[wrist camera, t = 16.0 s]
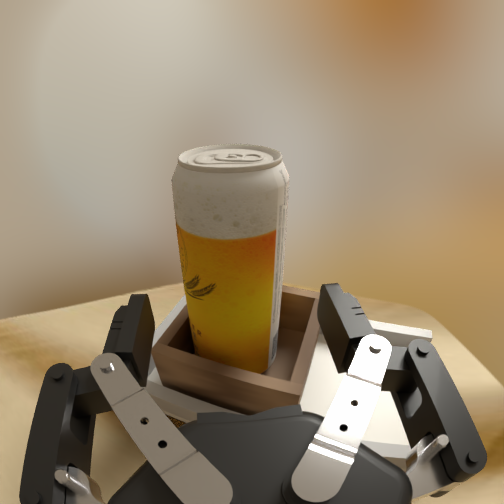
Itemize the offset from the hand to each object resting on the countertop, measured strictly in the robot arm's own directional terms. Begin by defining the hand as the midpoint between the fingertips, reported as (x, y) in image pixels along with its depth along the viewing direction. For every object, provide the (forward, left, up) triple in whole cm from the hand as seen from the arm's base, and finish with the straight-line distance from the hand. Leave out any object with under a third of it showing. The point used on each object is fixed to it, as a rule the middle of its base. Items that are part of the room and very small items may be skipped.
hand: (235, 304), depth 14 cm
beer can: (-2, +4, -9) cm, 11 cm away
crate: (-1, +5, -10) cm, 11 cm away
